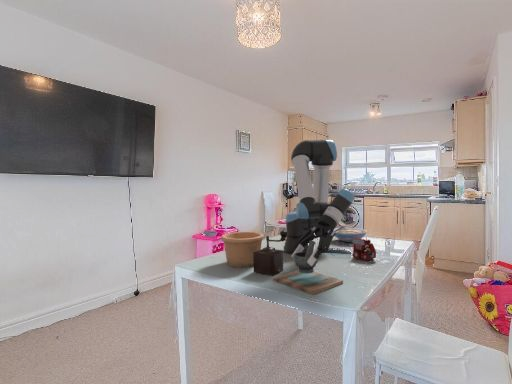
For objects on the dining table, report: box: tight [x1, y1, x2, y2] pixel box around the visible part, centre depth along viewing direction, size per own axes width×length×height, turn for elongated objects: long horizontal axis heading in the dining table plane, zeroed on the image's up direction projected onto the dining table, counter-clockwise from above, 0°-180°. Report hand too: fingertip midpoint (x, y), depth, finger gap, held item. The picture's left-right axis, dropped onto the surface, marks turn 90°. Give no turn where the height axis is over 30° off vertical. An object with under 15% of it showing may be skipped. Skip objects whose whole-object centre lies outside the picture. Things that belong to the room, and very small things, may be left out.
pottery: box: [220, 231, 265, 268], centre depth 154 cm, size 22×22×14 cm
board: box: [272, 269, 344, 295], centre depth 124 cm, size 22×18×1 cm
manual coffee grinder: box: [253, 230, 288, 277], centre depth 141 cm, size 16×11×18 cm
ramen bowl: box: [333, 225, 368, 243], centre depth 201 cm, size 25×23×8 cm
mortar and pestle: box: [293, 240, 319, 274], centre depth 124 cm, size 11×9×12 cm
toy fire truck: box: [352, 238, 377, 262], centre depth 156 cm, size 7×12×10 cm, turn 42°
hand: (301, 261), depth 122 cm, fingers closed on mortar and pestle, 10 cm apart
